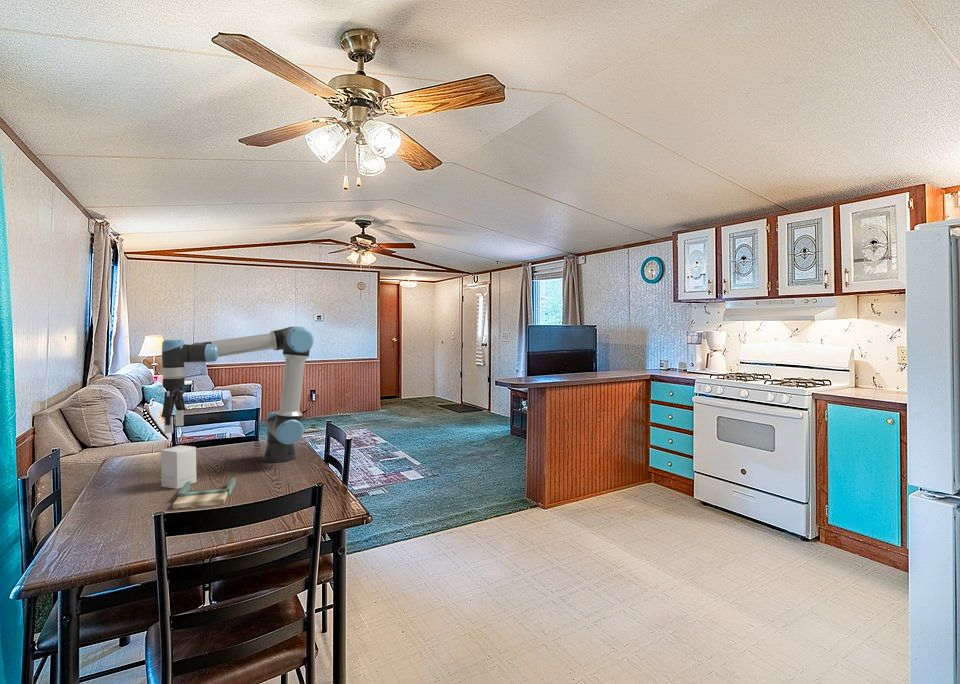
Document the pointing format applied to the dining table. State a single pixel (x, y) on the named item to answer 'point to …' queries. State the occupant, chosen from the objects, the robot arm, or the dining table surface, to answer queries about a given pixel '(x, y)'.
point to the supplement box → (178, 466)
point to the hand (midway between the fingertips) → (174, 429)
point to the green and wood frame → (202, 496)
